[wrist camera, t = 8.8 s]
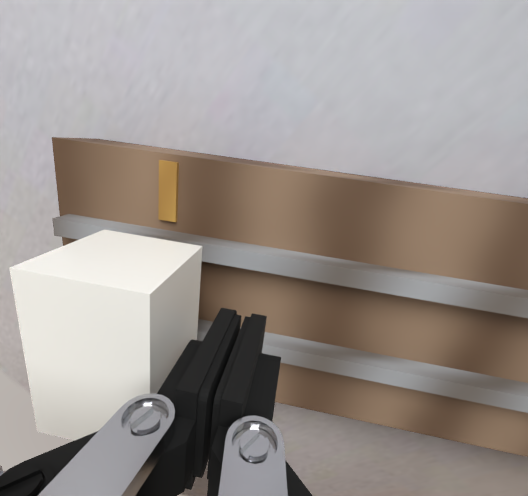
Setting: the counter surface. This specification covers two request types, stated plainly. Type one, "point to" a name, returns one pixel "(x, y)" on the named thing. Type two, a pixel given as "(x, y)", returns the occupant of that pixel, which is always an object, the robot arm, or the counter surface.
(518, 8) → the counter surface
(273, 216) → the linear slide rail
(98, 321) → the white block
